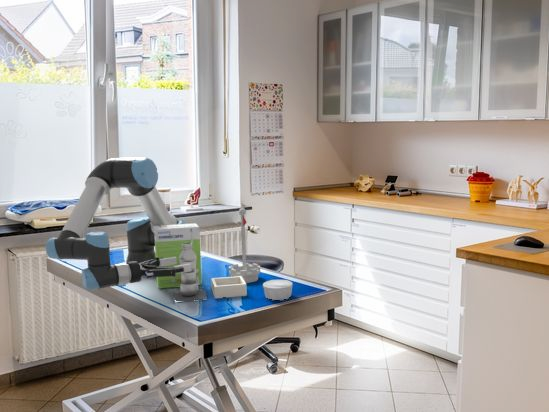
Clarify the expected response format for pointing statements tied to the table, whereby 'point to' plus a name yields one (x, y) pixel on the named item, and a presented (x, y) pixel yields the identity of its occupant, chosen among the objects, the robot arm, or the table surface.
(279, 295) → the ramekin
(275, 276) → the table surface
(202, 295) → the rubber mat
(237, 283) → the white square tray
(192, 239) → the green white carton
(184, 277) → the plastic bottle
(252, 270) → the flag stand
